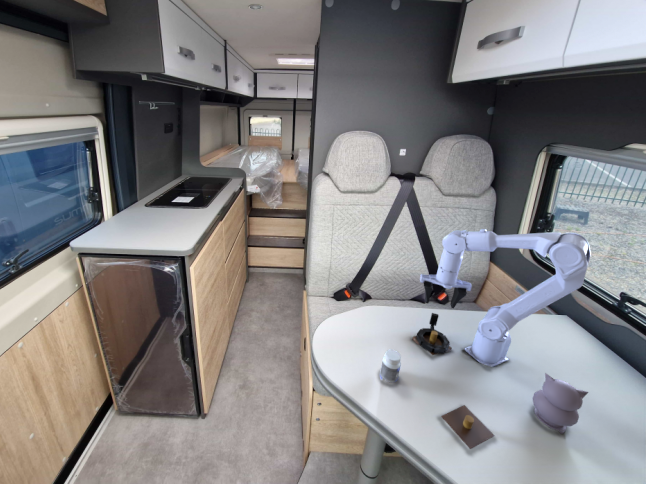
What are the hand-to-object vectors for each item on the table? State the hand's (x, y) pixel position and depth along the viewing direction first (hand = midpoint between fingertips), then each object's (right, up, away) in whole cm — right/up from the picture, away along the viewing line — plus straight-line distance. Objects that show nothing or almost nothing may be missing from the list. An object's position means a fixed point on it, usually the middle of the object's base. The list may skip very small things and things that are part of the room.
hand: (439, 304), depth 100 cm
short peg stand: (-7, -22, -28) cm, 36 cm away
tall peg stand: (-4, -12, -3) cm, 13 cm away
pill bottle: (-22, -16, -15) cm, 31 cm away
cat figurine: (+14, -22, -25) cm, 36 cm away
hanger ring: (-4, -10, -3) cm, 11 cm away
